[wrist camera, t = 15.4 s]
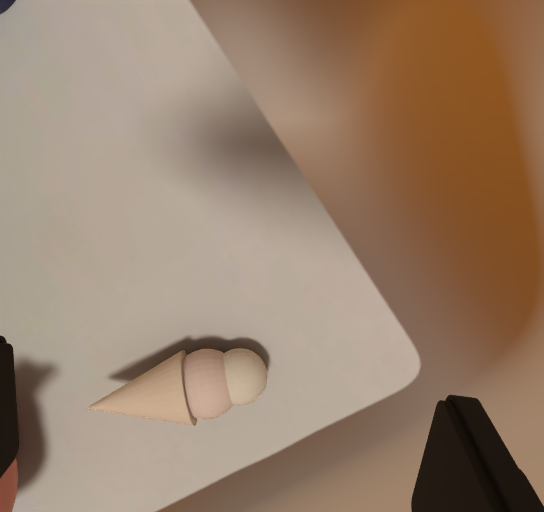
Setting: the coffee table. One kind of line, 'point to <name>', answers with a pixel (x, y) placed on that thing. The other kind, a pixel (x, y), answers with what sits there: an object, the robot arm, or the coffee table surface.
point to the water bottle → (5, 5)
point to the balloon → (8, 488)
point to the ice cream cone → (191, 387)
